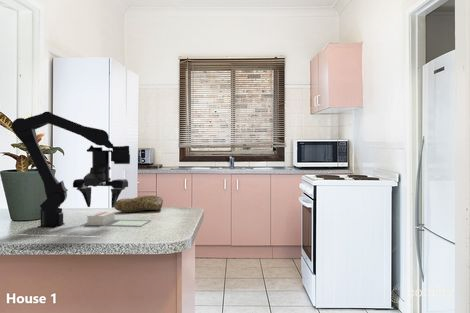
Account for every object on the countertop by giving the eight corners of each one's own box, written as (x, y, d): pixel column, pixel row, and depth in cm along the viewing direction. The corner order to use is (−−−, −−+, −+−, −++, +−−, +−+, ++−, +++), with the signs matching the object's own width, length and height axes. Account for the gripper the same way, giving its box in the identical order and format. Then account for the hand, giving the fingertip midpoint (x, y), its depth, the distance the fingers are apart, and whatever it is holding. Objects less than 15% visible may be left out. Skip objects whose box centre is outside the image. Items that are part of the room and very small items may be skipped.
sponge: (160, 210, 176) (116, 203, 173) (164, 194, 175) (119, 186, 171) (159, 221, 164) (111, 213, 160) (163, 204, 162) (114, 195, 159)
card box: (87, 224, 136) (87, 215, 136) (99, 220, 145) (99, 211, 145) (103, 225, 135) (103, 215, 135) (114, 220, 144) (114, 211, 144)
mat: (79, 226, 134) (79, 225, 134) (96, 220, 146) (96, 218, 146) (140, 228, 132) (140, 226, 132) (152, 221, 144) (152, 220, 144)
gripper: (64, 165, 132) (64, 210, 133) (115, 165, 130) (115, 211, 130) (80, 163, 143) (81, 205, 144) (128, 164, 141) (128, 206, 142)
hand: (100, 207), depth 140 cm, fingers open, 9 cm apart
